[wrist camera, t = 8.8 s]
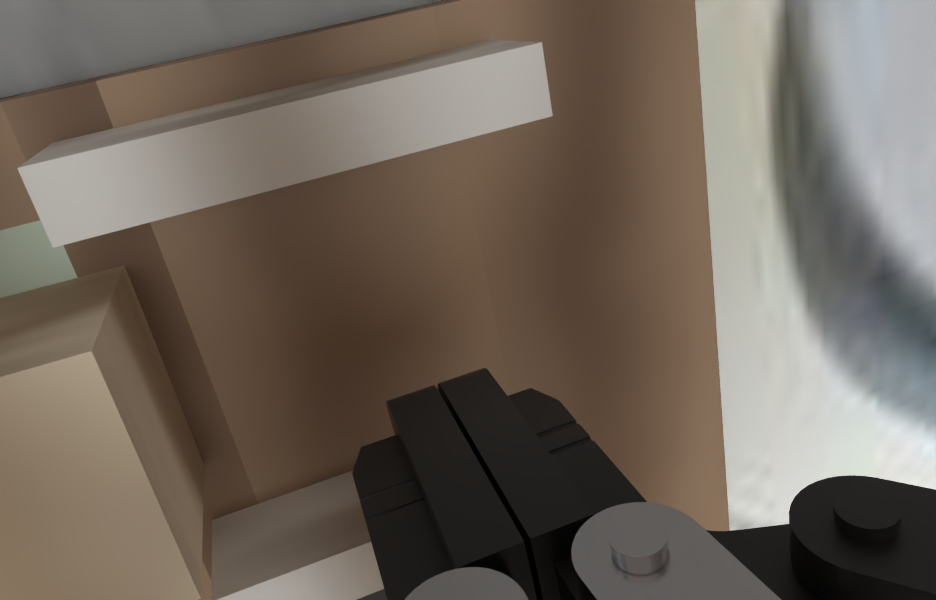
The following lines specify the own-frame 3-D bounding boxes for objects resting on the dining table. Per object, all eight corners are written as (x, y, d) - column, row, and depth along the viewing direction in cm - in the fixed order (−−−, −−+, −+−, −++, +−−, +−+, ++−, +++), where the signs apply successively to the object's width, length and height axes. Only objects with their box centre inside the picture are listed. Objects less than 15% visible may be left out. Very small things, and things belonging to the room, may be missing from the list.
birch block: (124, 265, 14) (91, 351, 10) (204, 465, 15) (200, 598, 12) (-150, 338, 13) (-296, 461, 9) (-30, 541, 14) (-112, 713, 11)
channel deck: (640, -43, 17) (775, -65, 13) (693, 539, 23) (792, 645, 19) (-212, 145, 13) (-404, 198, 9) (141, 767, 20) (122, 956, 16)
